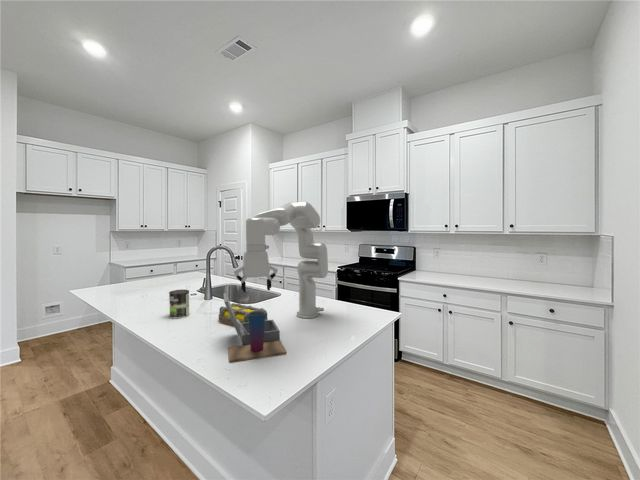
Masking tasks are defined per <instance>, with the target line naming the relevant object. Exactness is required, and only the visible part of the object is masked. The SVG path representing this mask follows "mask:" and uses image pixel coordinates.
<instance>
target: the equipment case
mask: <svg viewBox="0 0 640 480" xmlns="http://www.w3.org/2000/svg"><path fill="white" fill-rule="evenodd" d="M236 321H237V322H238V324H239V325H240V332H241V335H240V336H239V337H240V341H241V346H243V345H250V333H249V322H246V323H240V322H239V320H238V319H237V320H236ZM280 337H281V333H280V329H279V327H278V326H277V324H276V322H275V320H274V319H268V320H265V326H264V343H265V342H272V341H279V340H280ZM280 341H281V340H280Z"/></svg>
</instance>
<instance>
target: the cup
mask: <svg viewBox="0 0 640 480" xmlns="http://www.w3.org/2000/svg"><path fill="white" fill-rule="evenodd" d="M248 319H249V333H248V334H250V347H251V351H253V352H259V351H262V350H263V344H264V332H265V331H264V326H265V312H264V311H252V312H249V313H248Z"/></svg>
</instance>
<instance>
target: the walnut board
mask: <svg viewBox="0 0 640 480" xmlns="http://www.w3.org/2000/svg"><path fill="white" fill-rule="evenodd" d="M227 354H228V363H230V364H231V363H237V362H244V361H250V360H256V359H262V358H269V357H270V358H271V357H275V356H276V357H277V356H283V355H287V349H286V348H285V347H284V345H283V343H282V341H281V340H279V341H272V342H265V343H264V344H263V350H262V351H259V352H253V351H251V347H250V345H243V346H242V345H237V346H230V347H229V346H228V347H227Z"/></svg>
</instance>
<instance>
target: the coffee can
mask: <svg viewBox="0 0 640 480" xmlns="http://www.w3.org/2000/svg"><path fill="white" fill-rule="evenodd" d="M168 294H169V299H168V300H169V318H170V319H175V320H176V319H178V318H179V319H184V318H187V317H189V316H190V290H188V289H175V290H171V291H169V292H168Z"/></svg>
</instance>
